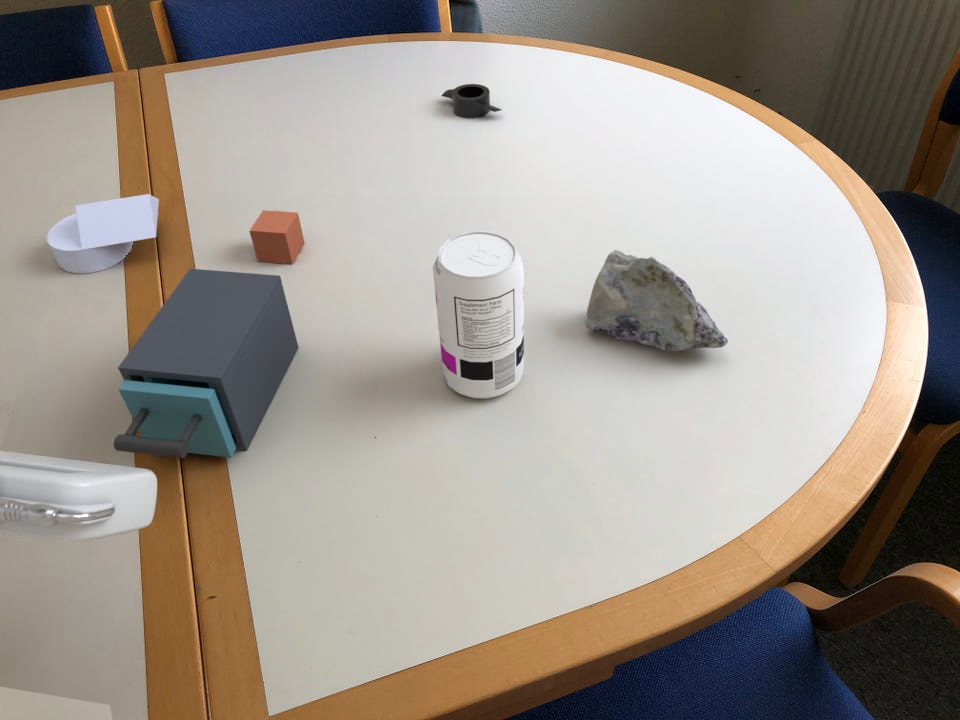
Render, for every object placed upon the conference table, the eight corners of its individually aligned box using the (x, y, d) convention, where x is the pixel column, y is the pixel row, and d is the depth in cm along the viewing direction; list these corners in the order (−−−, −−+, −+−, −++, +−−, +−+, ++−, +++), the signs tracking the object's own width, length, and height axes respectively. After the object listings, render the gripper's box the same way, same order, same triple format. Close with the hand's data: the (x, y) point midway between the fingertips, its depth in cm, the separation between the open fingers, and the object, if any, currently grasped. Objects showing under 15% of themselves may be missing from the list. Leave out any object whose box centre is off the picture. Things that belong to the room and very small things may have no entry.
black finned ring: (486, 92, 129) (485, 75, 127) (504, 119, 122) (504, 101, 120) (440, 100, 127) (438, 82, 125) (455, 127, 120) (454, 109, 118)
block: (292, 264, 96) (285, 233, 93) (257, 261, 97) (249, 230, 94) (304, 243, 99) (297, 212, 96) (270, 240, 100) (262, 210, 97)
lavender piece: (166, 221, 104) (62, 238, 102) (150, 175, 99) (41, 192, 97) (164, 260, 98) (53, 279, 95) (147, 213, 93) (29, 232, 91)
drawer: (211, 497, 69) (185, 438, 64) (123, 486, 71) (90, 427, 65) (282, 358, 82) (266, 299, 77) (207, 351, 84) (185, 293, 78)
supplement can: (427, 383, 80) (413, 262, 70) (473, 337, 85) (465, 218, 75) (494, 414, 77) (490, 292, 66) (538, 364, 81) (540, 243, 71)
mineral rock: (729, 359, 81) (748, 280, 74) (643, 396, 78) (655, 317, 71) (653, 291, 90) (664, 215, 83) (572, 322, 86) (576, 245, 79)
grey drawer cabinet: (247, 451, 74) (220, 377, 68) (152, 440, 76) (117, 367, 69) (299, 347, 85) (280, 275, 78) (215, 339, 86) (189, 268, 80)
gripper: (80, 461, 42) (208, 444, 55) (-250, 420, 45) (-51, 413, 58) (67, 582, 41) (199, 534, 55) (-263, 532, 44) (-61, 499, 58)
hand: (68, 472), depth 57 cm, fingers open, 8 cm apart
